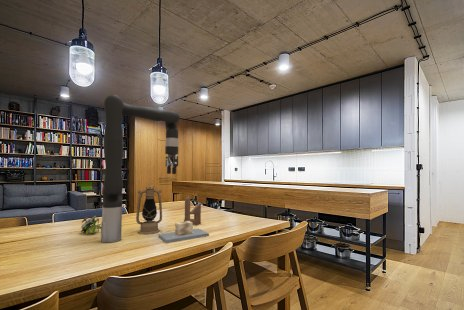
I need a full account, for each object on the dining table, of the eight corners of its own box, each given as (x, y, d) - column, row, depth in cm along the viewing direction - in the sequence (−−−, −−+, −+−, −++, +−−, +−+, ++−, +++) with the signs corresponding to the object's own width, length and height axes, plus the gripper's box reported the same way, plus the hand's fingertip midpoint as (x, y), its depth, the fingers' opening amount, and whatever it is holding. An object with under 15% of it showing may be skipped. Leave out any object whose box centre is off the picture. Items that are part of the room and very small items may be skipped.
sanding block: (178, 235, 129) (178, 224, 129) (175, 233, 133) (175, 222, 134) (192, 233, 133) (192, 222, 134) (188, 231, 138) (188, 220, 138)
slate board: (166, 243, 121) (166, 240, 121) (158, 237, 132) (158, 234, 132) (208, 235, 134) (208, 233, 135) (198, 231, 145) (198, 228, 145)
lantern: (135, 235, 135) (136, 181, 137) (136, 230, 147) (137, 180, 148) (162, 233, 140) (163, 181, 142) (161, 228, 151) (162, 180, 153)
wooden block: (200, 224, 163) (201, 197, 164) (185, 226, 158) (185, 198, 159) (198, 223, 166) (199, 196, 167) (183, 225, 161) (183, 197, 162)
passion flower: (84, 242, 140) (84, 223, 147) (105, 237, 144) (104, 218, 150) (77, 235, 132) (78, 215, 138) (99, 230, 135) (99, 210, 142)
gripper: (161, 146, 146) (161, 173, 145) (169, 144, 134) (169, 174, 133) (173, 147, 150) (173, 173, 149) (182, 145, 139) (182, 174, 138)
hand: (171, 173), depth 141 cm, fingers open, 8 cm apart
